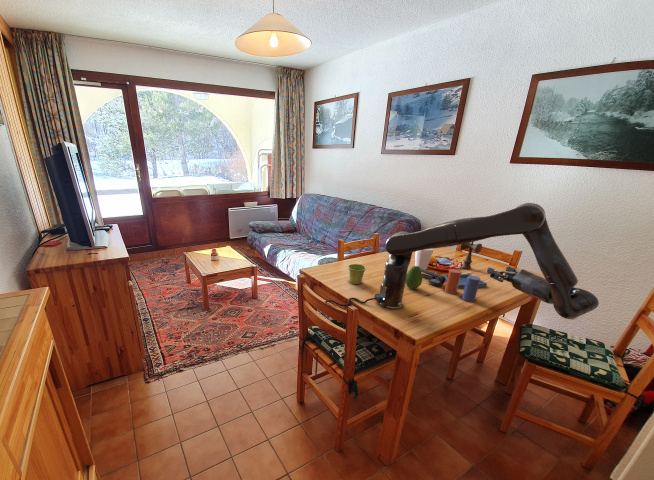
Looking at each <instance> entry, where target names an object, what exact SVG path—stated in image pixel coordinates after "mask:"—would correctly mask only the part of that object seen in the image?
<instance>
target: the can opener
mask: <svg viewBox="0 0 654 480" xmlns="http://www.w3.org/2000/svg"><path fill="white" fill-rule="evenodd" d="M421 273H422V278H425V279H427V280H429V281H428V284H430V285H432V286H435V287H439V286H442V285H444V284H446V281H445V280H446V278H445V276H443V275H441V274H439V273H437V272H434V271H430V270H427V269H426V270H421Z"/></svg>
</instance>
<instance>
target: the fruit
mask: <svg viewBox="0 0 654 480" xmlns="http://www.w3.org/2000/svg"><path fill="white" fill-rule="evenodd" d="M422 273H423V272H421V269H420V267H419V266H415V265H414V266H412V267H410V269H408V271H407V276H406V281H405V286H407V288H409V289H411V290H416V289H418V288H419V287H420V286H421V285H422V283H423V277H422Z"/></svg>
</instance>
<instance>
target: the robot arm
mask: <svg viewBox="0 0 654 480" xmlns="http://www.w3.org/2000/svg"><path fill="white" fill-rule="evenodd" d="M513 235H522V236H523V237H524V238H525V240H526V241H527V243H528V244H529V246H530V248H531V250H532V253H533V255H534V257H535V260H536V262H537V265H538V267H539V270H540V271H541V273H542V276H540V275H537V274H535V273H533V272H530V271H528V270H525V269H519V268H514V267H511V266H506V268H505V270H497V269H495V268H492V267H490V266H489V267H487V269H486V273H488V274H489V278H491V279H493V280H496V281H498V282H500V283H504V281H505V282H507V283H510V284H511V285H512V287H513V288H514V289H515V290H518V291H519V292H522V293H524V294H525V295H528V296H529V297H533V298H535V299H537V300H539V301H542V302H543V303H546V304H549V305H552V306H553V308H554V310H555V312H556V313H557V314H558V315H559V316H560V317H561V318H563V319H565V320H575V319H577V318H580V317H582V316H583V315H586V314H588V313H590V312H592V311H594V310H596V309H597V308H598V307H599V305H600V301H599V299H598V297H597V296H596V295H595V294H594V293H592V292H591V291H588V290H586V289H584V288H579V287H575V286H577V285H578V283H579V279H578V277H577V275H576V274H575V272H574V269H573V268H572V266H571V265H570V263H569V261H568V260H567V258H566V256H565V255H564V253H563V251H562V250H561V249H560V247H559V245H558V244H557V242H556V240H555V238H554V236H553V234H552V232H551V228H550V227H549V223H548V220H547V217H546V211H545V209H544V207H542V206H541V205H540V204H538V203H534V202H525V203H522V204H519V205H517V206H516V207H515V208H514V207H513V208H512V209H508V210H506V211H502V212H499V213H495V214H492V215H491V214H490V215H486V216H475V217H465V218H464V217H463V218H459V219H455V220H451V221H446V222H442V223H439V224H435V225H432V226H431V227H428V228H425V229H423V230H419V231H415V232H411V233H410V232H408V231H399V232H396V233H394V234H392V235H391V236H389V237H388V238H387V240H386V241H385V244H384V249H385V251H386V252H387V253H388V254H389V255H388V258H387V260H386V261H385V265H384V272H383V279H382V282H381V283H380V286H379V293H375V294H374V297H372V298H368V299H367V298H366V299H365V300H364V301H363V300H359V299H358V298H357V297H349V298H348V300H347V303H346V304H343V303H340V302H337V301H335V300H333V299H327V300H325V301H327V302H326V303H330V302H331V303H333V304H335V305H337V306H340V307H348V306H349V305H350V301H351V300H354V301H356V302H358V303H360V304H366V303H368V302H369V301H375V302H376V303H377V304H380V305H381V306H382V308H384V309H386V308H387V309H392V310H396V309H401V308H402V305H403V299H404V293H405V287H406V282H405V281H406V276H407V273H408V271H409V266H410V264H411V261H412V256H413V253H416V251H419V250H425V249H433V250H434V249H441V248H449V247H455V246H461V244H466V243H472V242H473V243H475V242H478V241H481V240H486V239H489V238H496V237H504V236H513ZM318 359H319V353H318V352H316V353H315V373H314V375H315V376H317V375H318V361H319V360H318Z"/></svg>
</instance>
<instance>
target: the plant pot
mask: <svg viewBox="0 0 654 480" xmlns="http://www.w3.org/2000/svg"><path fill="white" fill-rule="evenodd" d="M347 268H348V274H349V283H350V284H353V285H360V284H362V282H363V277H364V274H365V272H366V270H367V267H366V266H365V265H364V264H359V263H351V264H349V265H347Z"/></svg>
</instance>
